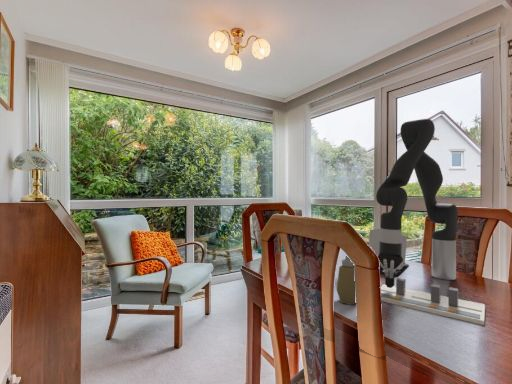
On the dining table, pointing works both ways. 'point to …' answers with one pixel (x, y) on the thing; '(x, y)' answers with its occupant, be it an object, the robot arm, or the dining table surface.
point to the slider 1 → (400, 286)
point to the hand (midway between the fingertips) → (389, 287)
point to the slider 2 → (453, 296)
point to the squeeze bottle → (346, 282)
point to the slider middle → (435, 293)
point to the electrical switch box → (375, 243)
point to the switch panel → (435, 304)
